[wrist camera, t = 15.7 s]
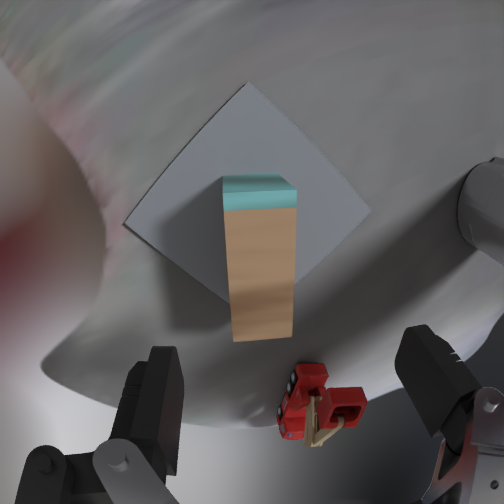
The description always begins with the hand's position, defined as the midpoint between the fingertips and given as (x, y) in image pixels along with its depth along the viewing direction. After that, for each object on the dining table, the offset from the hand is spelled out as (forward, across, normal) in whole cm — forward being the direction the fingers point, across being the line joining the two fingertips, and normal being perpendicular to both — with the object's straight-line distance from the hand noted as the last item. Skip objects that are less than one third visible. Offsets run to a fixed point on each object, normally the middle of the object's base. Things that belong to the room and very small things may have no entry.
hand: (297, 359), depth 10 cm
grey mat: (+15, 0, 0) cm, 15 cm away
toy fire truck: (+15, -5, +18) cm, 25 cm away
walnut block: (+12, 0, +6) cm, 13 cm away
